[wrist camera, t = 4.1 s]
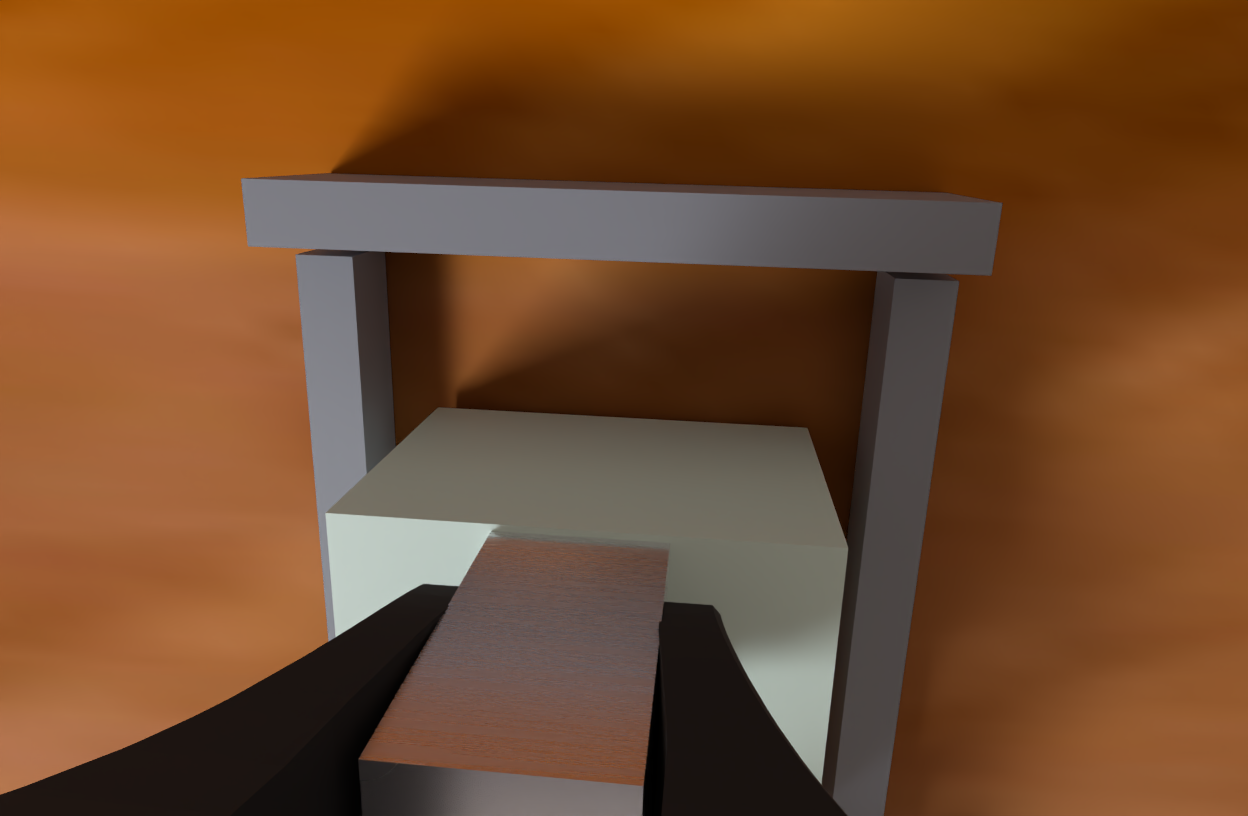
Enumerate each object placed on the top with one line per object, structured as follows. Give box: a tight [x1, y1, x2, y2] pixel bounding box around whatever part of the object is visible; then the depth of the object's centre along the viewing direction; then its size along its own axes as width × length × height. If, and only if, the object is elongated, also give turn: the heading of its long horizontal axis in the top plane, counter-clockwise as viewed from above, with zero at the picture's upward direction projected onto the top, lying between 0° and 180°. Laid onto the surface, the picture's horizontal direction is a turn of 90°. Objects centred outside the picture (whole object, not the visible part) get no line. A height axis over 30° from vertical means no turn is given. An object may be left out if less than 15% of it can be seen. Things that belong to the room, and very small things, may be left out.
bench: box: [241, 173, 1003, 816], centre depth 15 cm, size 11×17×6 cm, turn 179°
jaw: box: [325, 407, 848, 816], centre depth 12 cm, size 7×5×10 cm
